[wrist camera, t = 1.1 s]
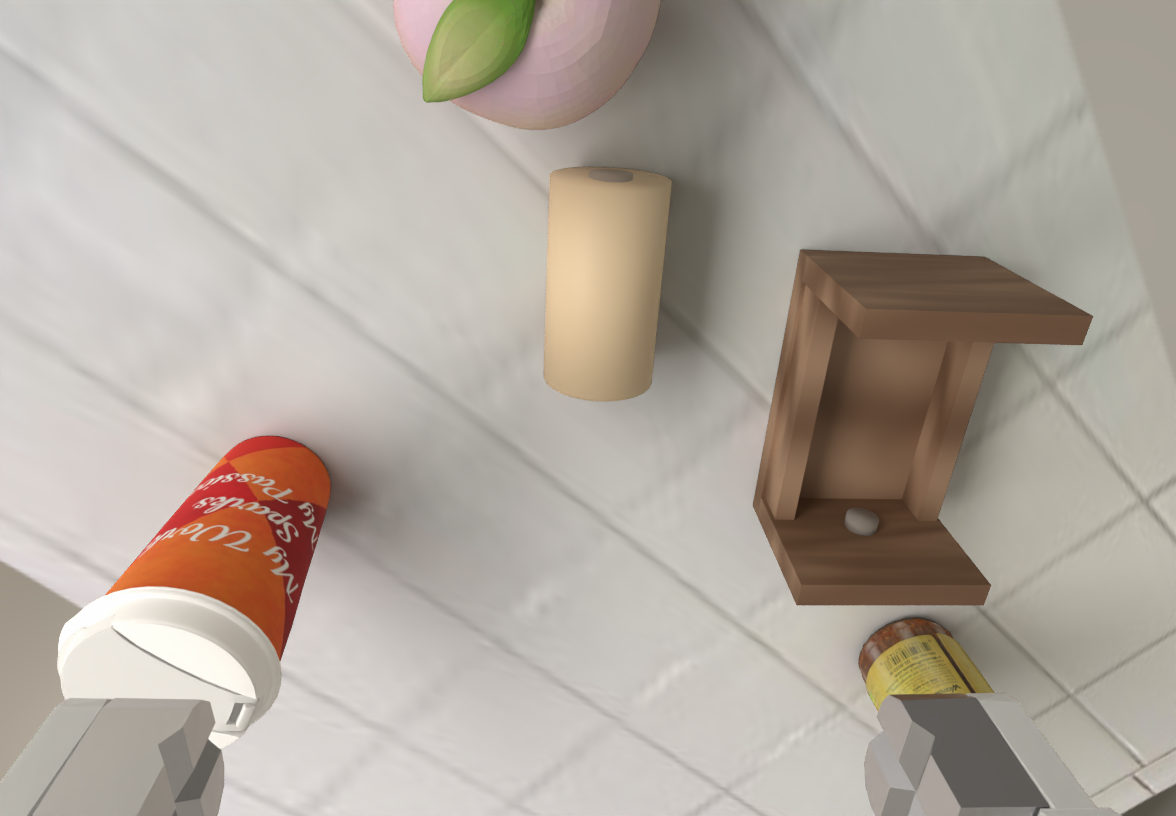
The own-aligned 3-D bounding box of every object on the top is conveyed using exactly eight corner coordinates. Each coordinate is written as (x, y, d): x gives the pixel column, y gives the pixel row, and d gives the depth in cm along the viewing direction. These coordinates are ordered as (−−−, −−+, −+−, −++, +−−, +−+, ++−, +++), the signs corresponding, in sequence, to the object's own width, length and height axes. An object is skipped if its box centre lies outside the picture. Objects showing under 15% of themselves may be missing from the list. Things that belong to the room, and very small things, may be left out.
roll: (545, 160, 33) (556, 183, 29) (657, 164, 34) (685, 187, 29) (539, 359, 37) (548, 406, 33) (639, 358, 38) (661, 404, 34)
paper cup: (373, 450, 39) (298, 654, 27) (325, 559, 42) (237, 787, 30) (218, 392, 37) (60, 582, 25) (179, 510, 40) (20, 734, 28)
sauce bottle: (840, 680, 49) (1011, 1055, 31) (874, 606, 46) (1082, 972, 29) (933, 689, 50) (1150, 1058, 32) (972, 617, 47) (1233, 977, 30)
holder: (800, 249, 36) (866, 308, 29) (984, 256, 36) (1093, 316, 29) (752, 505, 42) (796, 605, 35) (909, 507, 43) (983, 605, 36)
